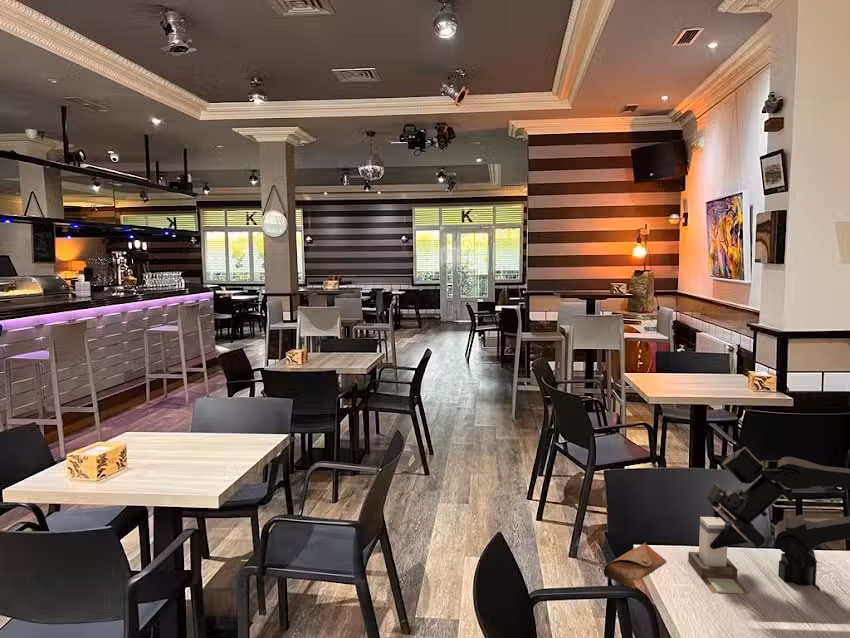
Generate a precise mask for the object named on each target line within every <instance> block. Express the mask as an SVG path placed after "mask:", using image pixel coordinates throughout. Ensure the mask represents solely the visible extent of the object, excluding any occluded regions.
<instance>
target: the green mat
mask: <svg viewBox="0 0 850 638" xmlns="http://www.w3.org/2000/svg"><path fill="white" fill-rule="evenodd" d="M707 580H708V581H709V582H710V584H711V585H712V586H713V588H714V589H715V590H716V591H717V593H716V594H723V593H744V592H743V591H742V590H741V588H740V587H739V586H738V585H737V584H736V583H735V581H734V580H733V579H723V578H707Z"/></svg>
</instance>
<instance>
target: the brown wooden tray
mask: <svg viewBox="0 0 850 638" xmlns="http://www.w3.org/2000/svg"><path fill="white" fill-rule="evenodd" d="M687 554H688V557H687V562H688V564H689V565H690V566H691V568H692V569H693V570H694V572H696V574H697V576H699V577H700V579H701V580H702V582H703V583H704V585H705V586H706V587H707V588H708V590H709V591H710V592H711V594H718V593H717V591H716V590H715V589H714V588H713V586H712V585H711V584H710V582H709V581H708V580H707V578H723V579H733V580H734V581H735V583H736V584H737V585H738V586H739V587H740V588H741V590H742V591H743V592H744V593H722V594H729V595H730V594H732V595H733V594H734V595H750V592H749V591H747V589H746V588H745V587H744V586H743V585H742V583H741V582H740V581H739V580H738V568H737V566H735V565H734V563H732V561H731V560H730V559H729V558H728V557H727V565H726V567H714V566H704V565H703V564H702V563H701V561H700V560H699V551H688V553H687Z"/></svg>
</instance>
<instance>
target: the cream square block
mask: <svg viewBox="0 0 850 638" xmlns="http://www.w3.org/2000/svg"><path fill="white" fill-rule="evenodd" d="M724 528H725V522H724V521H723V520H722V519H721V518H720V517H711V516H700V517H699V540H698V541H699V542H698V544H699V545H698V552H699V560H700V561H701V563H702V564H703V565H704V566H714V567H726V565H727V558H728V546H726V547H722V548H717V549H712V548H711V547H710V544H711V543H712V542H713V541H714V540H715V538H716V537H717V536H718V535H719V534H720V533H721V532H722V531H723V530H724Z"/></svg>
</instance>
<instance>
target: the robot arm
mask: <svg viewBox="0 0 850 638" xmlns="http://www.w3.org/2000/svg"><path fill="white" fill-rule="evenodd" d="M721 466H723V467H724V468H725V469H726V470H727V471H728V472H729V474H731V475H732V476H733V477H734V478H735V479H736V480H737V481H738V482H739V483H741V484H743V483H744V484H745V485H747V484H748V485H749V484H751V485H750V486H748V487H747V488H746V489H745V490H744V491H743V489H737V490H736V491H733V489H729V488H727V487H724V486H722V485H720V484H718V483H715V482H714V483H713V485H712V486H711V488H710V490H709V492H708V496H707V497H706V501H708V502H709V503H710V504H711V505H709V508H710V515H711V516H710V517H720V518H721V519H722V520H723V521H724V522H725V528H724V530H723V531H722V532H721V533H720V534H719V535H718V536H717V537H716V538H715V540H714V541H713V542H712V543H711V544H710V547H711V548H712V549H717V548H722V547H726V546H727V547H729V546H735V545H741V544H747V545H748V544H750V543H751V544H752V545H753V546H754V547H756V548H757V549H758V550H759V549H760V548H761V547H763V545H765V540H766V537H764V536H763V534H761V533H760V532H759V531H758V529H756V528H755V525H754V524H753V522H754V521H755V520H756V519H758V518H759V517H760V516H762V517H764V518H765V517H767V516H768V513H767V512H766V510H767V509H769V508H770V507H771V506H772V505H773V504H774V503H775V502H777V501H778V500H779V499H780V498H782V497H783V498H784V499H785V500H787V501H789V502H793V501H794V500H793V499H794V498H793V490H798V489H802V490H803V489H805V490H806V489H812V488H818V487H831V488H837V489H838V488H839V489H847V490H848V489H849V490H850V468H847V467H839V466H838V467H837V466H829V465H821V464H817V463H814V462H811V461H809V460H805V459H800V458H797V457H794V456H783V457H781V458H780V459H779V460H762V461H760V460H759V459H758V458H756V457H755V455H754V454H753V453H752V452H751V450H750V449H748V448H747V447H746V446H743V447H742V448H741V449H738V450H736V451H735V452H734V451H733V452H732V453H730V454H729V455H728V456H727V457H726V458H725V459H724V460H723V462H722V463H721ZM729 520H730V521H731V522H732V524H731V523H730V522H729ZM774 538H775V543H776V547H777V548H778V549H779V550H780V551H781V552H783V553H781V554H780V555H781V556H780V560H779V561H778V573H777V574H778V577H779V579H781V581H783V582H784V583H788V584H793V585H796V586H799V587H800V586H801V587H802V586H803V587H808V586H813V587H814V588H816V590H817V591H820V586H818V584H816V582H817V568H818V567H817V565H818V564H817V563H818V561H817V558H816V554H815V553H816V552H815V550H814V549H816V548H818V547H820V546H821V545H824V544H826V543H827V544H828V543H833V542H834V543H835V542H840V541H846V540H850V515H849V516H848V515H847V516H842V517H837V518H831V519H826V520H819V521H810V520H806V519H805V516H804V514H799V515H796V516H792V517H789V516H787V517H786V516H784V517H783V520H779V522H777V523H776V525H775V527H774ZM749 541H750V542H749Z"/></svg>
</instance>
